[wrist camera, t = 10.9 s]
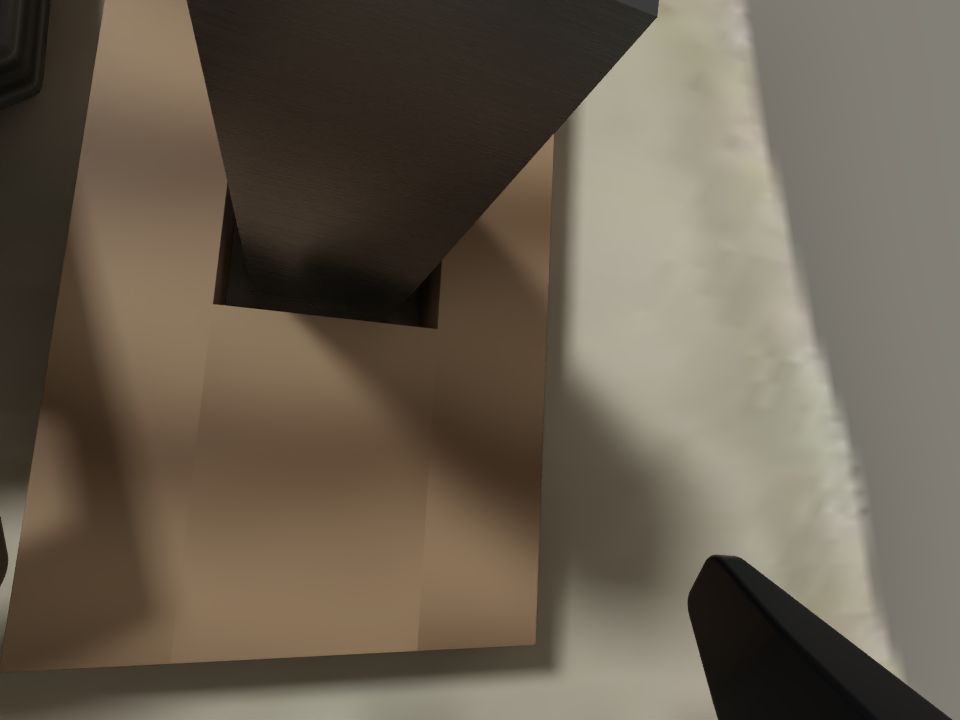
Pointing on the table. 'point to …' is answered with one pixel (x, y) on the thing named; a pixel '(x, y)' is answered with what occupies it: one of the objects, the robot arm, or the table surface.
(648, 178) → the table surface
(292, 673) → the table surface
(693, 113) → the table surface
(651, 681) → the table surface
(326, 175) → the dark grey square post
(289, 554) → the post foot
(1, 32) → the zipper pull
